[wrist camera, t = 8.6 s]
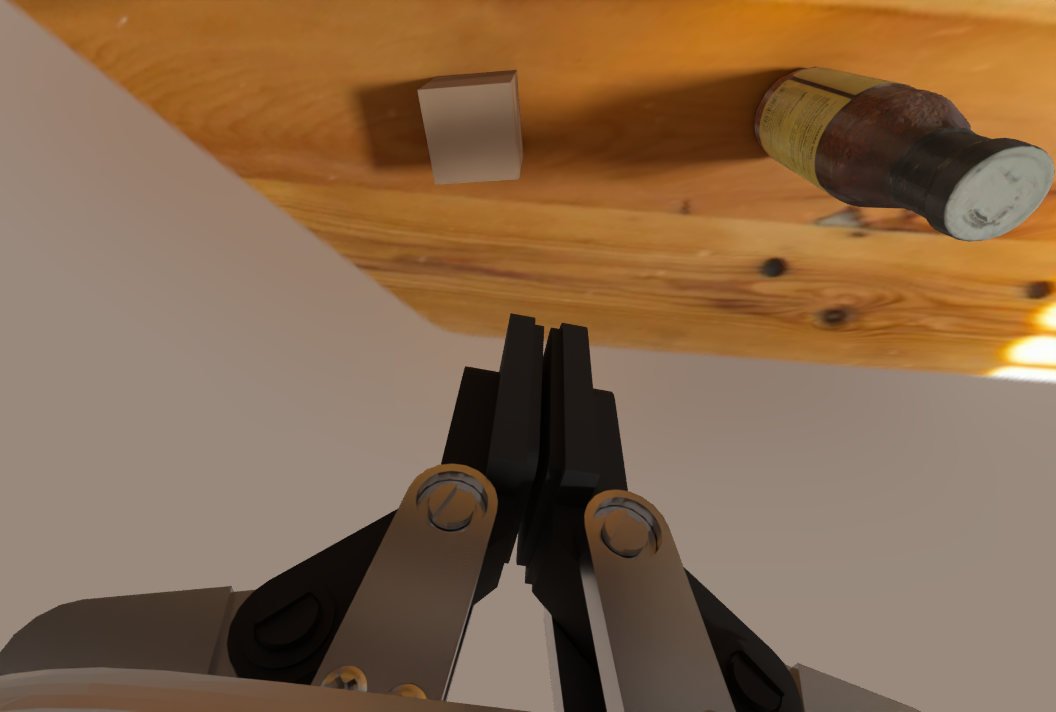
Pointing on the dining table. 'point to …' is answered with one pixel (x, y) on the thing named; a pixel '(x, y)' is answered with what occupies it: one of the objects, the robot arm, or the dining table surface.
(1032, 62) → the dining table surface
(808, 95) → the sauce bottle
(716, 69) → the dining table surface
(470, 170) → the grey cube
